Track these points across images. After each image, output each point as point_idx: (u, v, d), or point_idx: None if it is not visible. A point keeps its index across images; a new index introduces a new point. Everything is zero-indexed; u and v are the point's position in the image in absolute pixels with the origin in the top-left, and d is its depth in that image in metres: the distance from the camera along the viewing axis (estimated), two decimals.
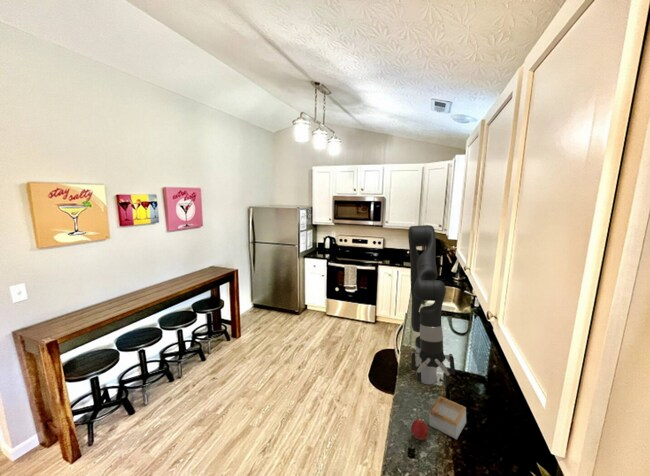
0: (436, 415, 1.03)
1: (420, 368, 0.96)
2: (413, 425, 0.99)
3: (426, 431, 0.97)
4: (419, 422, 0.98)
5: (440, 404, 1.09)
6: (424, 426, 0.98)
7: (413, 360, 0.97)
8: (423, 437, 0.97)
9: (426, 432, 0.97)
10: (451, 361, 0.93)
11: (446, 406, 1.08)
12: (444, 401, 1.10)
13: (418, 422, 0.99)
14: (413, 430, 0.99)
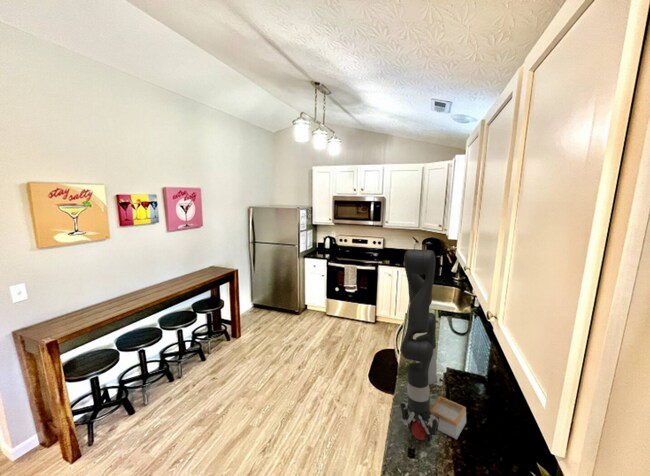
0: (436, 415, 1.03)
1: (410, 420, 1.01)
2: (413, 425, 0.99)
3: None
4: (419, 422, 0.98)
5: (440, 404, 1.09)
6: None
7: (402, 410, 1.02)
8: (423, 437, 0.97)
9: None
10: (433, 424, 0.94)
11: (446, 406, 1.08)
12: (444, 401, 1.10)
13: (418, 422, 0.99)
14: (413, 430, 0.99)
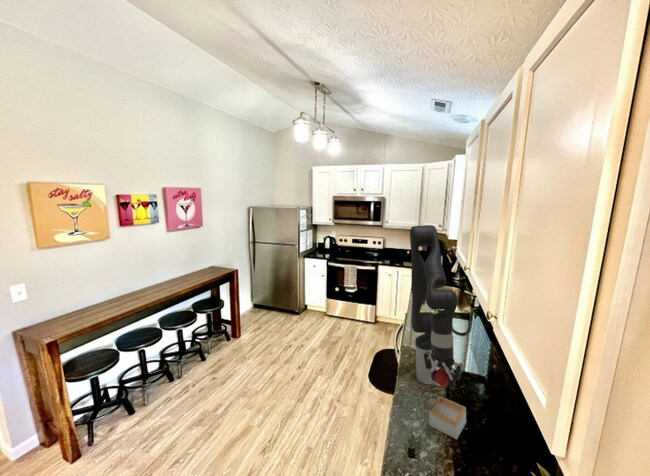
0: (436, 415, 1.03)
1: (433, 369, 1.04)
2: (436, 373, 1.03)
3: (449, 378, 1.01)
4: (442, 370, 1.02)
5: (440, 404, 1.09)
6: None
7: (425, 360, 1.06)
8: (446, 383, 1.00)
9: None
10: (457, 370, 0.97)
11: (446, 406, 1.08)
12: (444, 401, 1.10)
13: (441, 370, 1.02)
14: (436, 377, 1.02)
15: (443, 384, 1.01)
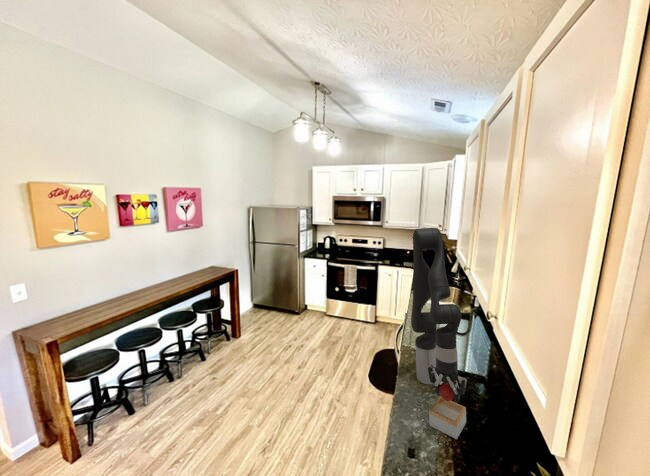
0: (436, 415, 1.03)
1: (437, 383, 1.05)
2: (441, 387, 1.04)
3: None
4: (447, 384, 1.03)
5: (440, 404, 1.09)
6: None
7: (430, 374, 1.07)
8: (451, 398, 1.01)
9: None
10: (462, 384, 0.98)
11: (446, 406, 1.08)
12: (444, 401, 1.10)
13: (446, 384, 1.03)
14: (441, 392, 1.03)
15: (448, 398, 1.01)
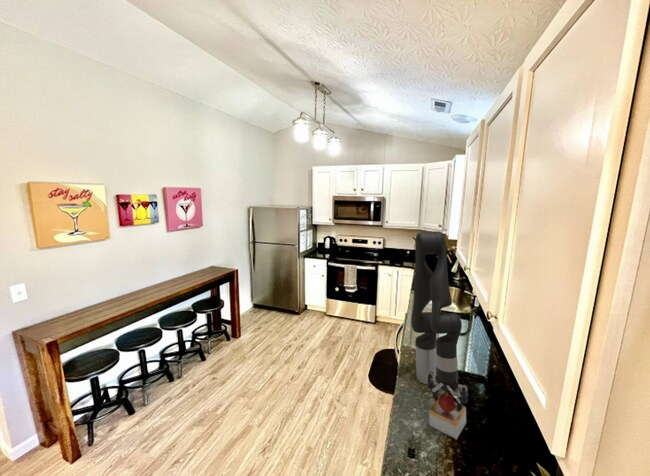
0: (436, 415, 1.03)
1: (435, 389, 1.06)
2: (441, 399, 1.04)
3: (453, 404, 1.03)
4: (446, 395, 1.04)
5: None
6: (451, 399, 1.03)
7: (429, 380, 1.07)
8: (451, 409, 1.02)
9: (453, 405, 1.02)
10: (462, 392, 0.98)
11: None
12: None
13: (445, 395, 1.04)
14: (441, 403, 1.04)
15: (447, 410, 1.02)
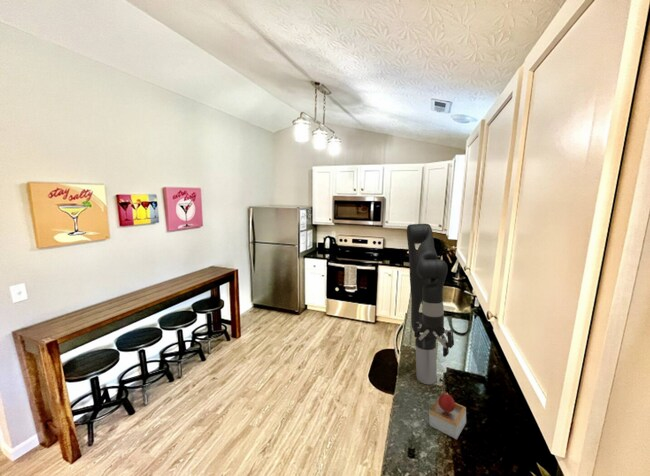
0: (436, 415, 1.03)
1: (421, 337, 1.06)
2: (440, 399, 1.04)
3: (453, 404, 1.03)
4: (446, 395, 1.04)
5: None
6: (451, 399, 1.03)
7: (416, 329, 1.07)
8: (451, 409, 1.02)
9: (453, 405, 1.02)
10: (448, 336, 0.99)
11: None
12: None
13: (445, 395, 1.04)
14: (441, 403, 1.04)
15: (447, 410, 1.02)
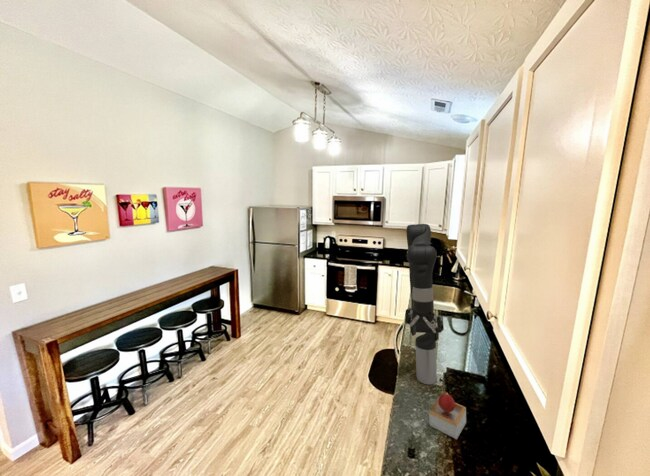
0: (436, 415, 1.03)
1: (412, 323, 1.08)
2: (440, 399, 1.04)
3: (453, 404, 1.03)
4: (446, 395, 1.04)
5: None
6: (451, 399, 1.03)
7: (407, 315, 1.09)
8: (451, 409, 1.02)
9: (453, 405, 1.02)
10: (437, 321, 1.00)
11: None
12: None
13: (445, 395, 1.04)
14: (441, 403, 1.04)
15: (447, 410, 1.02)
